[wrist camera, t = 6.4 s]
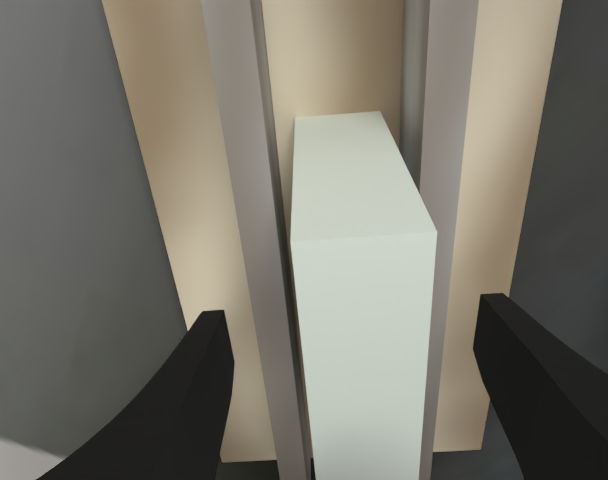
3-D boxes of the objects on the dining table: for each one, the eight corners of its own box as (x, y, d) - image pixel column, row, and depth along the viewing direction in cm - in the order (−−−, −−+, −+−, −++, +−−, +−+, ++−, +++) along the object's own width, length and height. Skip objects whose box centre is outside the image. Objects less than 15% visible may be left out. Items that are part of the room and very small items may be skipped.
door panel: (379, 110, 14) (437, 231, 8) (379, 359, 19) (413, 543, 13) (294, 117, 14) (289, 241, 8) (316, 362, 20) (323, 547, 14)
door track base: (571, -155, 12) (680, -195, 8) (474, 430, 23) (503, 514, 20) (87, -111, 12) (5, -132, 9) (225, 443, 24) (212, 527, 20)
